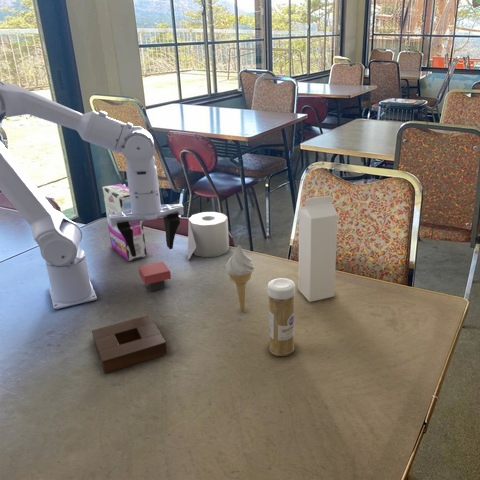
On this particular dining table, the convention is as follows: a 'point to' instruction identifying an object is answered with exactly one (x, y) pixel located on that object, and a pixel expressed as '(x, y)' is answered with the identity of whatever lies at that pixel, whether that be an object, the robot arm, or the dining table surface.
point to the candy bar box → (119, 202)
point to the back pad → (154, 275)
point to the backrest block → (130, 352)
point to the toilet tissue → (208, 234)
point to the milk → (317, 248)
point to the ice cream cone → (240, 273)
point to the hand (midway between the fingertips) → (151, 251)
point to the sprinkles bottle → (281, 316)
